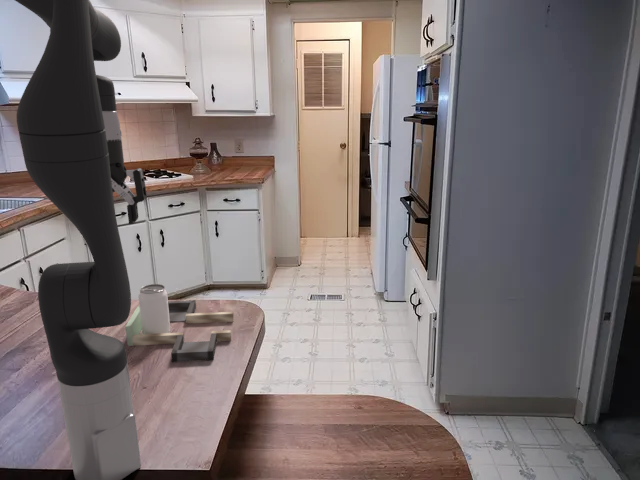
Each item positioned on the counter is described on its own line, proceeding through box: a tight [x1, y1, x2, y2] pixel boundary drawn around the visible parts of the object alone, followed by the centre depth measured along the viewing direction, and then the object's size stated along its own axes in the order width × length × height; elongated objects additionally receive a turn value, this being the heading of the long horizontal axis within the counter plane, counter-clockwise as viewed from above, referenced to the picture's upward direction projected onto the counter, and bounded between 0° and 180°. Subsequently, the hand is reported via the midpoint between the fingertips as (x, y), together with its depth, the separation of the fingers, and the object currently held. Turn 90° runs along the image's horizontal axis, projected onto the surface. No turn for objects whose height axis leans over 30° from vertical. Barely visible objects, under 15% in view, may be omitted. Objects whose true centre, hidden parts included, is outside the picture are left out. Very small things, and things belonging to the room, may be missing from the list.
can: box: [138, 283, 171, 334], centre depth 110 cm, size 6×6×12 cm
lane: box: [126, 300, 235, 363], centre depth 112 cm, size 24×28×2 cm
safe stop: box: [125, 305, 142, 347], centre depth 111 cm, size 1×11×5 cm, turn 7°
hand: (109, 223), depth 87 cm, fingers open, 8 cm apart
